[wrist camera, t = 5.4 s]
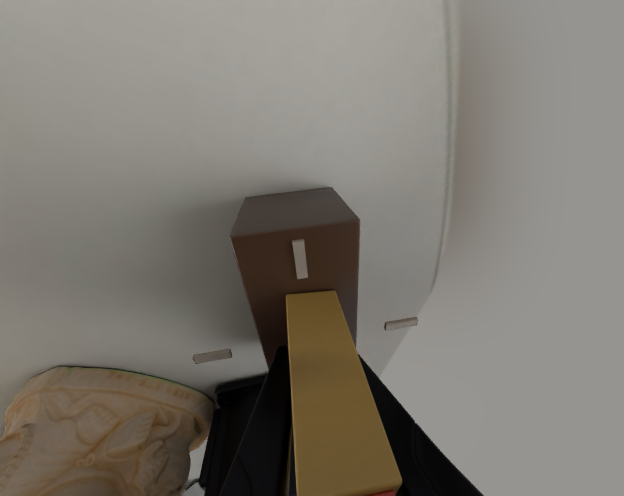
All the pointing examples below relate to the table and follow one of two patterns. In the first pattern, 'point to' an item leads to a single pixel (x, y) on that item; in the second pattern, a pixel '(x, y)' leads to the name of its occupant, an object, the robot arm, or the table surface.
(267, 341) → the miniature drawer cabinet
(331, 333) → the tan flat block
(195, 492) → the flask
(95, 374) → the statue
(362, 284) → the table surface
